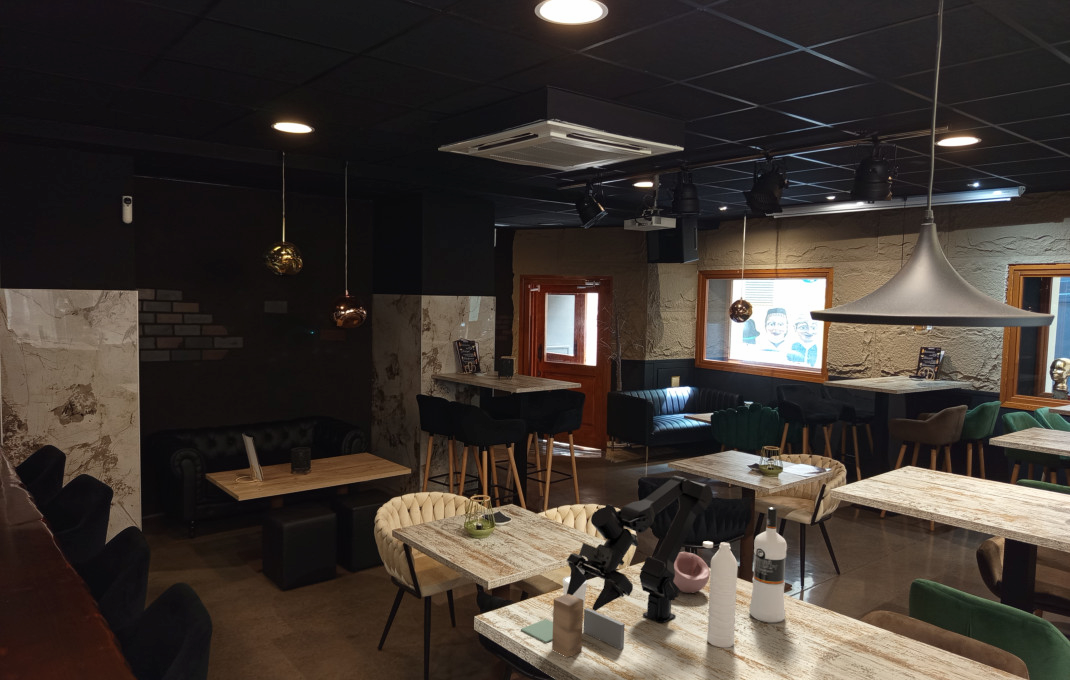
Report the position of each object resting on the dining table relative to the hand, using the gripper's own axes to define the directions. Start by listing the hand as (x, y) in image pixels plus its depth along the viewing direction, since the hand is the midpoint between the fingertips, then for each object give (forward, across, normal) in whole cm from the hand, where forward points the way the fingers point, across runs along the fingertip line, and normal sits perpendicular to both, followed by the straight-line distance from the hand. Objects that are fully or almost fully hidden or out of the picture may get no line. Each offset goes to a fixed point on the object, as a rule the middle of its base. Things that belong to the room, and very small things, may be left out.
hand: (580, 603), depth 172 cm
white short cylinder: (-3, -19, +19) cm, 27 cm away
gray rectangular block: (+2, +1, +13) cm, 13 cm away
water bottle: (-14, +18, +29) cm, 37 cm away
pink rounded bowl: (-28, -7, +43) cm, 51 cm away
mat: (+8, -11, +7) cm, 15 cm away
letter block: (+10, 0, +5) cm, 11 cm away
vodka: (-31, +17, +46) cm, 57 cm away
